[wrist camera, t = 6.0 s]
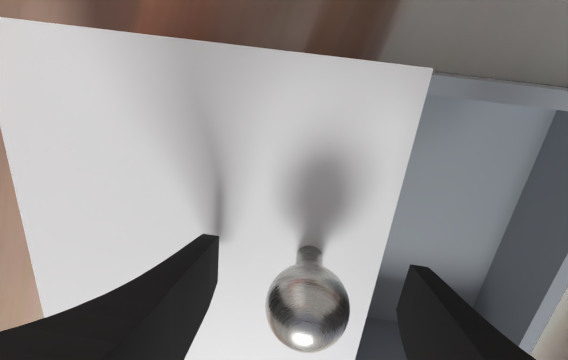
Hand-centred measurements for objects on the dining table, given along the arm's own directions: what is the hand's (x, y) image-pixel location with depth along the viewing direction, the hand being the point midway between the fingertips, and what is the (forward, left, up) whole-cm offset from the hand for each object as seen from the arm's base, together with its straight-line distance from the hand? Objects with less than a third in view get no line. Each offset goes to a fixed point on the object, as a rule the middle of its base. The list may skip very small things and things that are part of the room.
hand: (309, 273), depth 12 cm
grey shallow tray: (-3, 0, -6) cm, 6 cm away
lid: (+4, 0, -2) cm, 5 cm away
